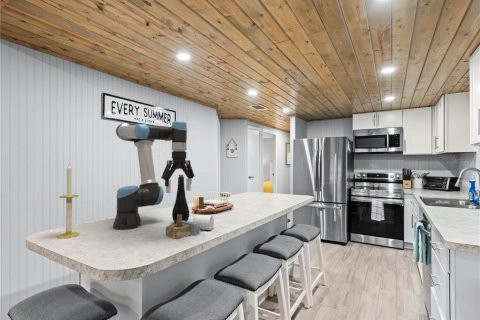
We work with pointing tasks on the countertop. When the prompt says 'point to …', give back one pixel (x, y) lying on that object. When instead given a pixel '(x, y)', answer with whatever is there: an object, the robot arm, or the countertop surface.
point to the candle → (69, 207)
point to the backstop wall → (192, 227)
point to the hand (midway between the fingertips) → (178, 191)
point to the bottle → (180, 202)
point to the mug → (204, 221)
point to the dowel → (179, 220)
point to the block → (178, 231)
